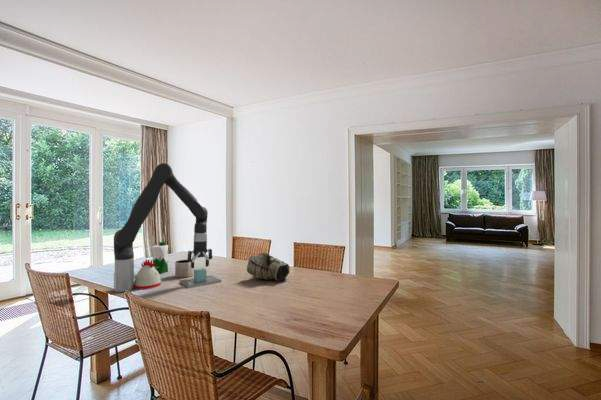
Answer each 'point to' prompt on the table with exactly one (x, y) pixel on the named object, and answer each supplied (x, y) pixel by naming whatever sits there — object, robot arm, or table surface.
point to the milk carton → (160, 257)
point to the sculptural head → (267, 267)
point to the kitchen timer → (147, 276)
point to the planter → (183, 269)
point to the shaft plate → (192, 283)
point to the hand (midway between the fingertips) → (199, 267)
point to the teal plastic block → (200, 275)
